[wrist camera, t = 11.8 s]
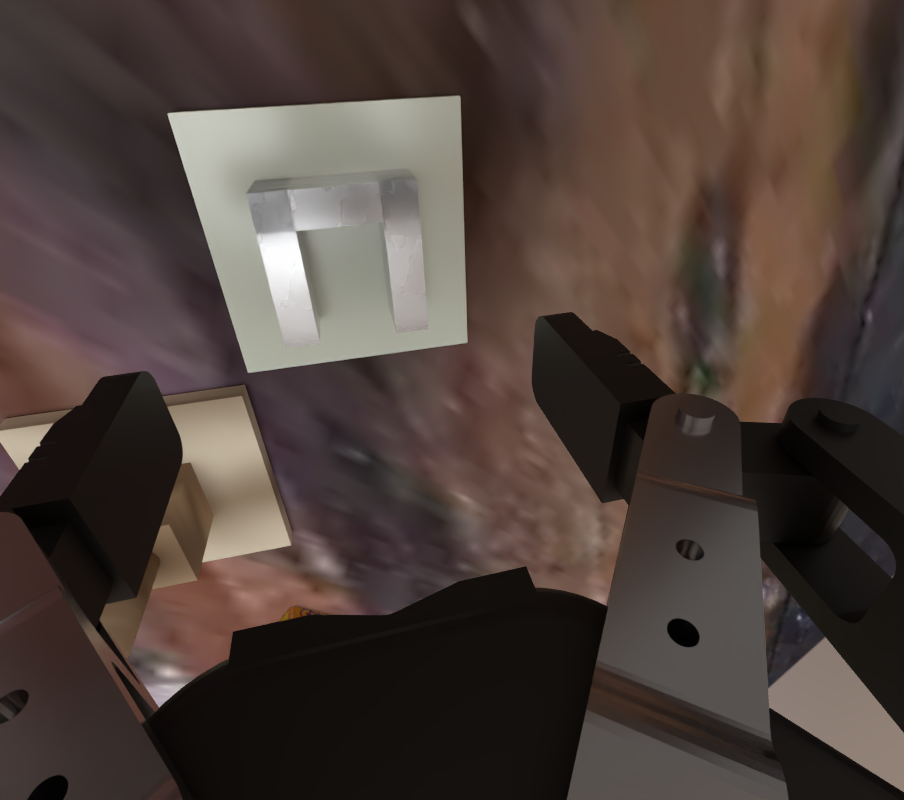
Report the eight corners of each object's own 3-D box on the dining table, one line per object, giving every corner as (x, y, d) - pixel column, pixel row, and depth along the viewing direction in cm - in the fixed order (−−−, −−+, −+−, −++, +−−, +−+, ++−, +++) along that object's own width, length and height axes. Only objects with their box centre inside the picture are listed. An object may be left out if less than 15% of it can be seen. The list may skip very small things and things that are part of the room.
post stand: (5, 418, 22) (-159, 594, 14) (245, 384, 23) (208, 528, 16) (104, 567, 27) (22, 750, 20) (292, 531, 29) (281, 689, 21)
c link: (254, 180, 18) (245, 193, 16) (406, 167, 19) (417, 179, 17) (289, 321, 21) (285, 348, 19) (418, 305, 22) (428, 329, 20)
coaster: (173, 111, 17) (167, 113, 16) (455, 95, 19) (460, 95, 18) (250, 364, 23) (247, 372, 22) (463, 335, 24) (467, 342, 24)
